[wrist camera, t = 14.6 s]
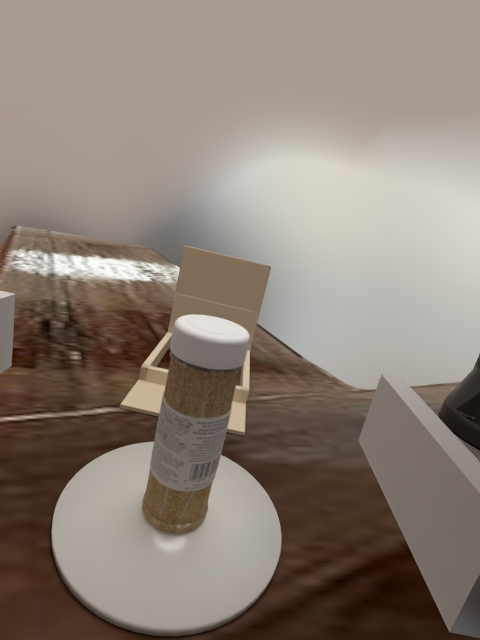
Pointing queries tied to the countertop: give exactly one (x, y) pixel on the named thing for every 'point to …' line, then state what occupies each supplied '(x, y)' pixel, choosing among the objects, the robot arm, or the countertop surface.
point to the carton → (212, 300)
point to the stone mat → (163, 548)
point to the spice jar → (193, 419)
